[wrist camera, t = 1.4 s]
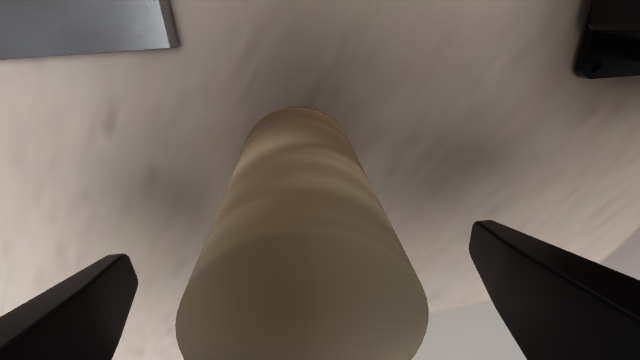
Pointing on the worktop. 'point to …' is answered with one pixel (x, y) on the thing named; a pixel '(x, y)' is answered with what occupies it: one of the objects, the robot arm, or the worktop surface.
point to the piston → (301, 257)
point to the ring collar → (83, 27)
